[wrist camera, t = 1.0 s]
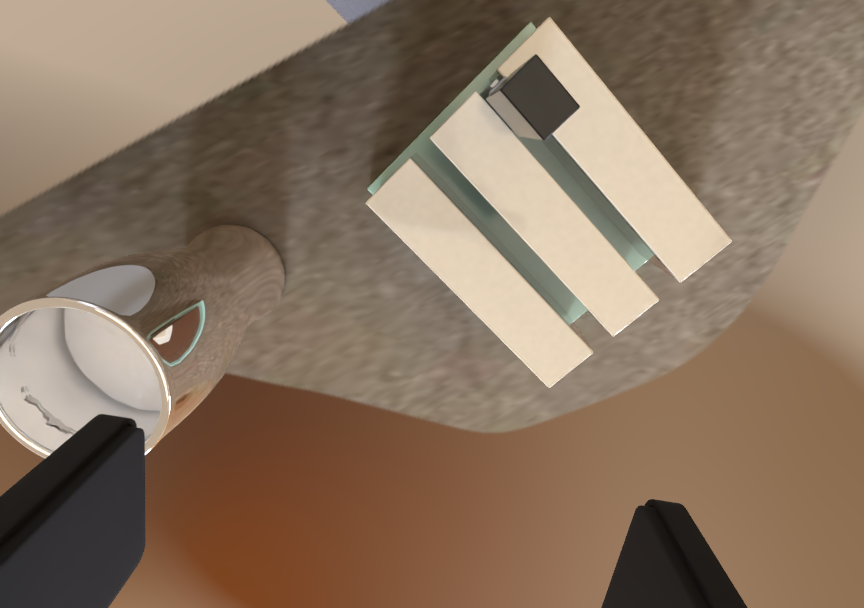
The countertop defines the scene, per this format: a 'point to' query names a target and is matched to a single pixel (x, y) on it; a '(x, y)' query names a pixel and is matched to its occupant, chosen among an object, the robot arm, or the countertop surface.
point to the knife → (531, 100)
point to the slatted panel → (545, 211)
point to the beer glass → (134, 337)
